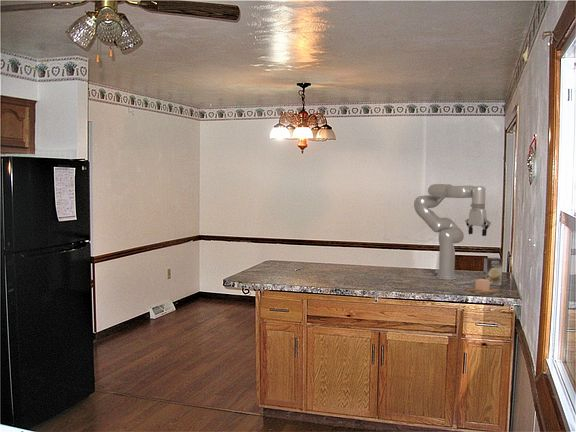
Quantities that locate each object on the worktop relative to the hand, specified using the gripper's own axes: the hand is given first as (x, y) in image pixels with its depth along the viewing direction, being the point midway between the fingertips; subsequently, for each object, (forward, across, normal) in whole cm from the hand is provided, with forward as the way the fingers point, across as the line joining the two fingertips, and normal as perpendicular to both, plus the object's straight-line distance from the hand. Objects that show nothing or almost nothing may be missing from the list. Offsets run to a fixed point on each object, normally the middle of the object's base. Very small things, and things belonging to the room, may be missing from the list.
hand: (477, 234), depth 336 cm
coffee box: (+31, +6, +8) cm, 32 cm away
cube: (+29, +15, -14) cm, 36 cm away
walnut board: (+30, +15, -14) cm, 37 cm away
